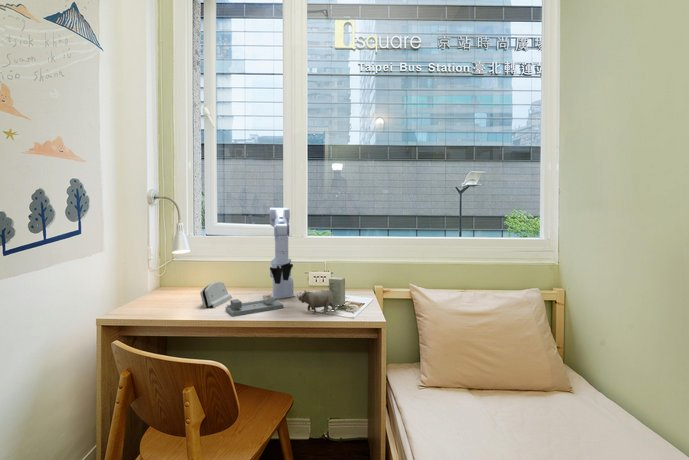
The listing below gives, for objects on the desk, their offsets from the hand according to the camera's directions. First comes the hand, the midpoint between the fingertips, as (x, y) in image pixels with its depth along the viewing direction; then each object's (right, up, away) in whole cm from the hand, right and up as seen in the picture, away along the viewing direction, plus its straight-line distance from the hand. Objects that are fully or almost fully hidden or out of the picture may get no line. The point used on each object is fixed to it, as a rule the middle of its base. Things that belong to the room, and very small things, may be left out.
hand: (281, 281), depth 164 cm
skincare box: (+24, -11, +2) cm, 27 cm away
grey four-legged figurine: (+15, -12, -8) cm, 21 cm away
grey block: (-5, -9, -3) cm, 11 cm away
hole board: (-10, -11, -6) cm, 16 cm away
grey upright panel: (-30, -10, +4) cm, 32 cm away
